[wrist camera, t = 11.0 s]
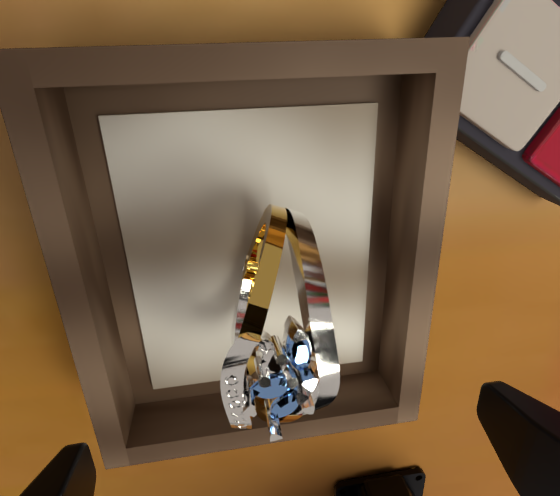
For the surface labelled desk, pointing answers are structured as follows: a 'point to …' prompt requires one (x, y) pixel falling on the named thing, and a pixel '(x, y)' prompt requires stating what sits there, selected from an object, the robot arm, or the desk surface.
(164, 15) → the desk surface
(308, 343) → the ring
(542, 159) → the calculator
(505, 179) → the desk surface
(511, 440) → the robot arm
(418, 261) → the base
